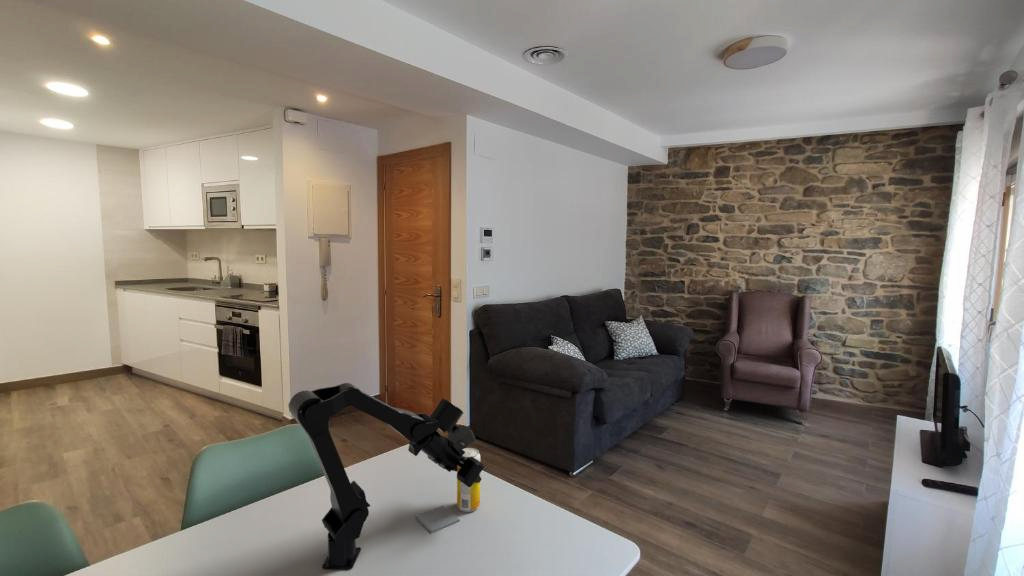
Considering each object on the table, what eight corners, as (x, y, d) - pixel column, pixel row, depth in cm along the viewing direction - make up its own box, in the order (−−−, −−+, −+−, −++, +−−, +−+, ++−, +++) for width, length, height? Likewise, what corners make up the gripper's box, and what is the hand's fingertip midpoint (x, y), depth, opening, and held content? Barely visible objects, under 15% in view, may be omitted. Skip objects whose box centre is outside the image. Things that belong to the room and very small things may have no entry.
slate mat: (431, 533, 112) (431, 531, 112) (415, 518, 118) (415, 516, 118) (459, 521, 117) (459, 519, 117) (443, 507, 123) (443, 505, 123)
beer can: (481, 501, 126) (482, 448, 125) (477, 514, 120) (478, 458, 119) (459, 499, 127) (459, 446, 125) (454, 512, 121) (454, 456, 119)
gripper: (477, 430, 111) (512, 462, 119) (437, 409, 126) (471, 438, 134) (449, 472, 107) (487, 501, 115) (411, 444, 121) (447, 472, 129)
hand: (473, 476), depth 123 cm, fingers closed on beer can, 6 cm apart
